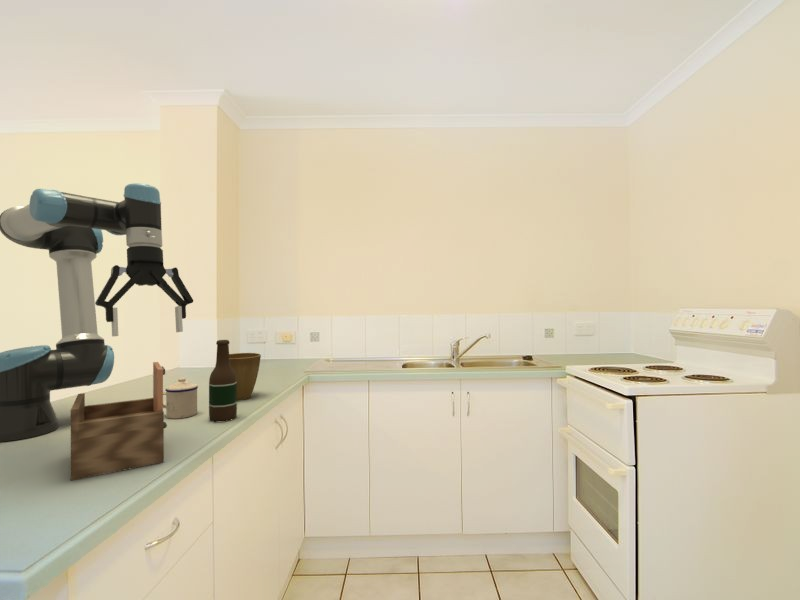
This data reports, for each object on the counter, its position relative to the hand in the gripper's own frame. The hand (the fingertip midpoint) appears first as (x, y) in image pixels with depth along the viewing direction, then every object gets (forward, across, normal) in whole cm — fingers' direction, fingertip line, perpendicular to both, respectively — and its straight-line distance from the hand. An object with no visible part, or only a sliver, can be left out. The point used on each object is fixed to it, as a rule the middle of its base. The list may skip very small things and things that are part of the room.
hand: (148, 334), depth 98 cm
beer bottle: (+27, +22, +16) cm, 38 cm away
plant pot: (+25, +38, +39) cm, 60 cm away
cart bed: (+28, -7, +1) cm, 29 cm away
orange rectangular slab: (+20, +1, -1) cm, 20 cm away
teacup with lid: (+26, +14, +30) cm, 42 cm away
